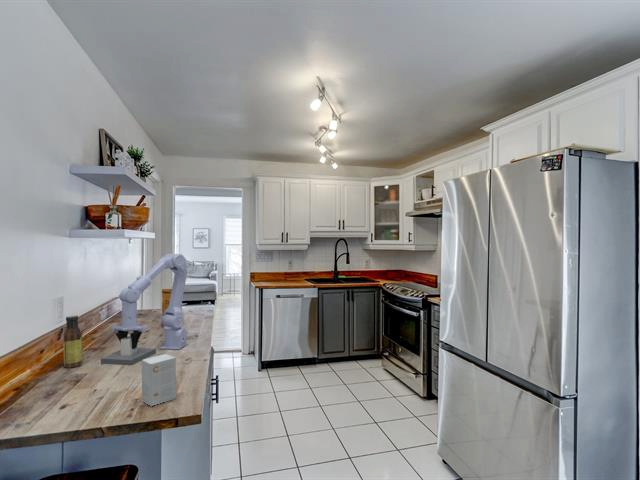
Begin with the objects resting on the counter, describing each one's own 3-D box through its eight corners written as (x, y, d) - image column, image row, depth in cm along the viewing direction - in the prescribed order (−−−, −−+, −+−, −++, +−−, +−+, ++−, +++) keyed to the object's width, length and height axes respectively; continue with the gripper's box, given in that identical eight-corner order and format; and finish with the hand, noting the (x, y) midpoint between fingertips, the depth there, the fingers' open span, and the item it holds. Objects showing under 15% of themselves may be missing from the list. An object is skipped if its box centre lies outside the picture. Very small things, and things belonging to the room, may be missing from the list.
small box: (166, 393, 116) (166, 353, 117) (176, 398, 112) (176, 357, 112) (141, 401, 110) (141, 359, 110) (150, 407, 106) (150, 363, 106)
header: (155, 353, 159) (155, 348, 159) (131, 365, 143) (131, 360, 143) (127, 351, 161) (127, 347, 161) (100, 363, 146) (100, 358, 146)
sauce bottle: (86, 364, 145) (86, 315, 145) (71, 369, 139) (71, 318, 139) (74, 362, 147) (74, 314, 147) (59, 367, 141) (59, 317, 141)
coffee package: (182, 326, 212) (182, 289, 212) (159, 327, 209) (159, 289, 209) (184, 322, 222) (184, 287, 222) (162, 323, 218) (162, 287, 219)
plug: (137, 354, 155) (137, 335, 155) (129, 358, 149) (129, 339, 149) (128, 354, 155) (128, 335, 155) (120, 358, 150) (120, 339, 150)
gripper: (107, 318, 149) (106, 350, 149) (139, 318, 148) (139, 351, 148) (118, 314, 156) (118, 345, 156) (149, 315, 155) (149, 346, 155)
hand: (129, 348), depth 152 cm, fingers closed on plug, 4 cm apart
